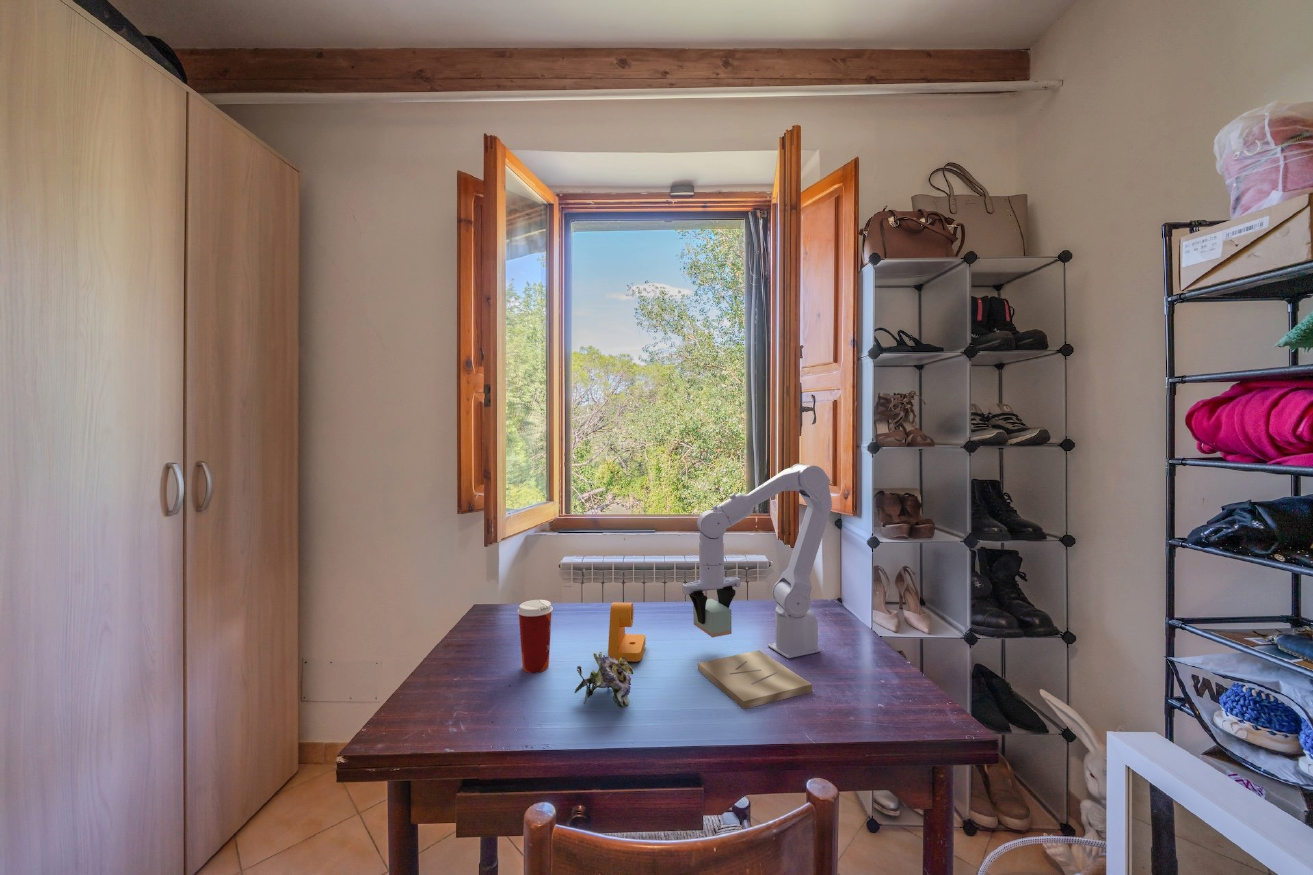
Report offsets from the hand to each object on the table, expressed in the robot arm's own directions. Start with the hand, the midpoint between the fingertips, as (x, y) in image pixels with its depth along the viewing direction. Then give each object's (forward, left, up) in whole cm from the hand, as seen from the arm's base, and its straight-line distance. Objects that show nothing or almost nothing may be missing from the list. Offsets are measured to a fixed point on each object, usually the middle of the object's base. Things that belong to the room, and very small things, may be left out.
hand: (712, 620), depth 123 cm
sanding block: (0, 0, -2) cm, 2 cm away
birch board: (-1, +15, -8) cm, 17 cm away
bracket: (+18, -8, -8) cm, 21 cm away
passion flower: (+30, +11, -8) cm, 33 cm away
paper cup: (+39, -10, -8) cm, 41 cm away
